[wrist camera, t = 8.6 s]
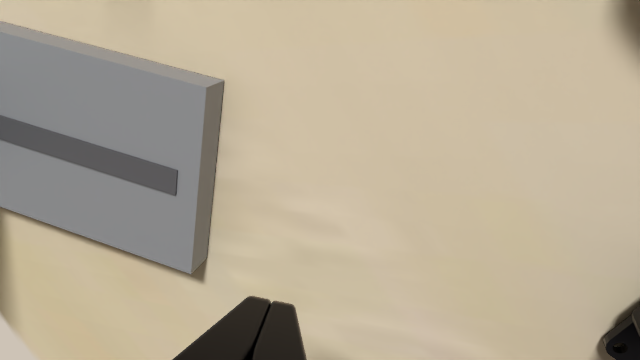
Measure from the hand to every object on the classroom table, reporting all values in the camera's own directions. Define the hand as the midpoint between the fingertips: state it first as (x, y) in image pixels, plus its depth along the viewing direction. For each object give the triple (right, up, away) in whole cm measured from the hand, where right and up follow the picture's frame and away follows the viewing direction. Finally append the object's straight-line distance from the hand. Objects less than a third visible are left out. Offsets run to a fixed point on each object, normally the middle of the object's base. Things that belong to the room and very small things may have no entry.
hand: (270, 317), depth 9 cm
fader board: (-11, +5, +15) cm, 20 cm away
